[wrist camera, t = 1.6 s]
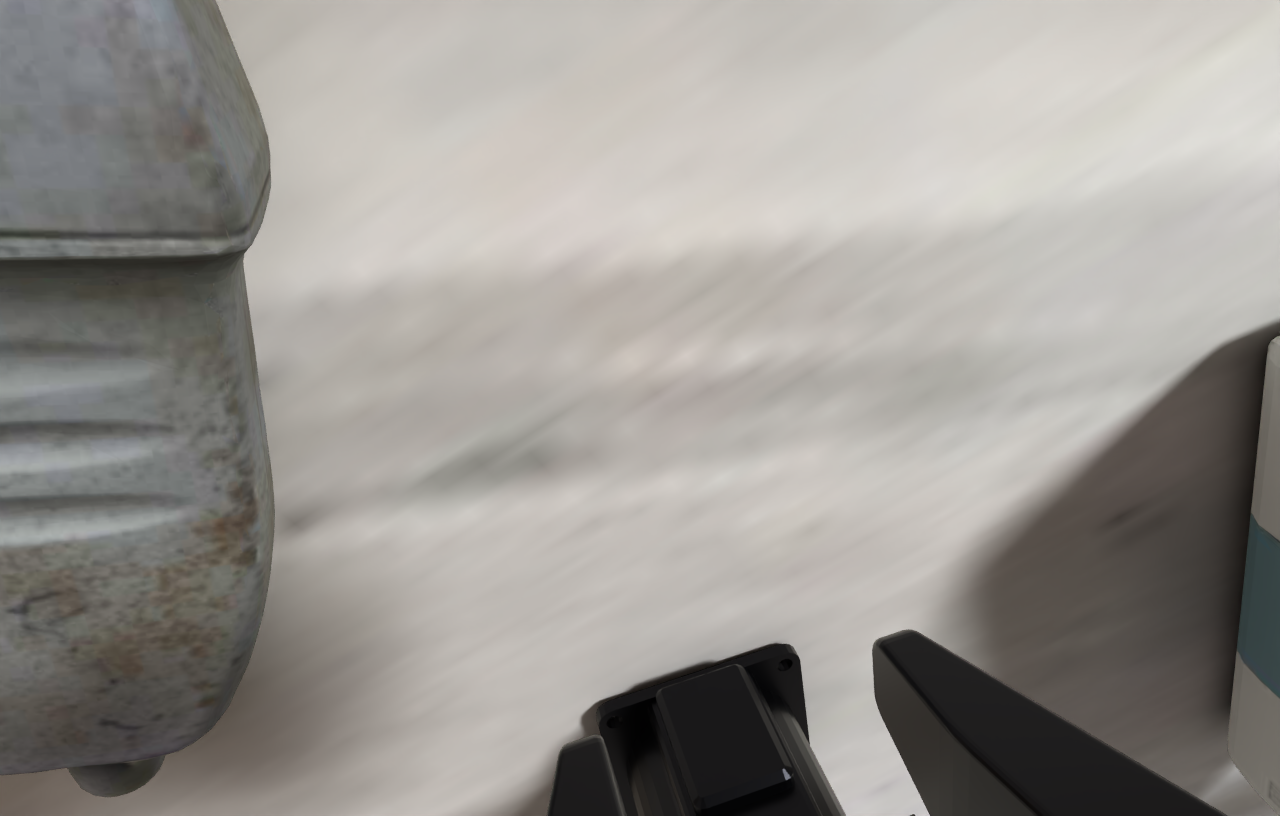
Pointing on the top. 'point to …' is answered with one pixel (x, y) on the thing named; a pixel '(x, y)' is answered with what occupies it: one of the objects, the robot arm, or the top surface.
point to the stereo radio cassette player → (1261, 613)
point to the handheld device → (126, 384)
